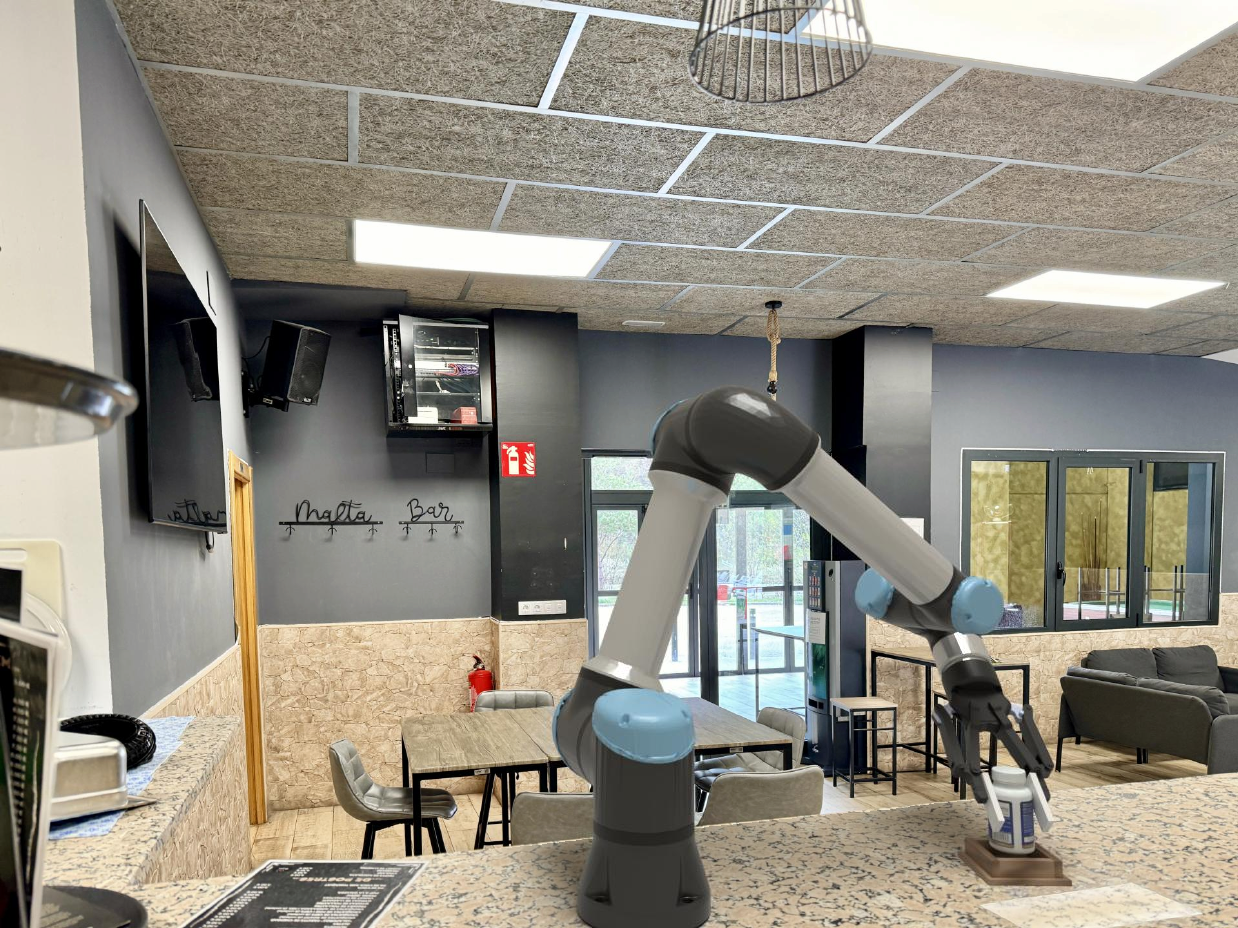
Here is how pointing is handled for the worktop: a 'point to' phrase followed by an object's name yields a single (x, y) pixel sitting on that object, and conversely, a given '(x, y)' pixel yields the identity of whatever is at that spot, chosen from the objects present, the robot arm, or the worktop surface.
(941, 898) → the worktop surface
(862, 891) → the worktop surface
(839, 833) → the worktop surface
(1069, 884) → the socket block
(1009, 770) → the pill bottle
